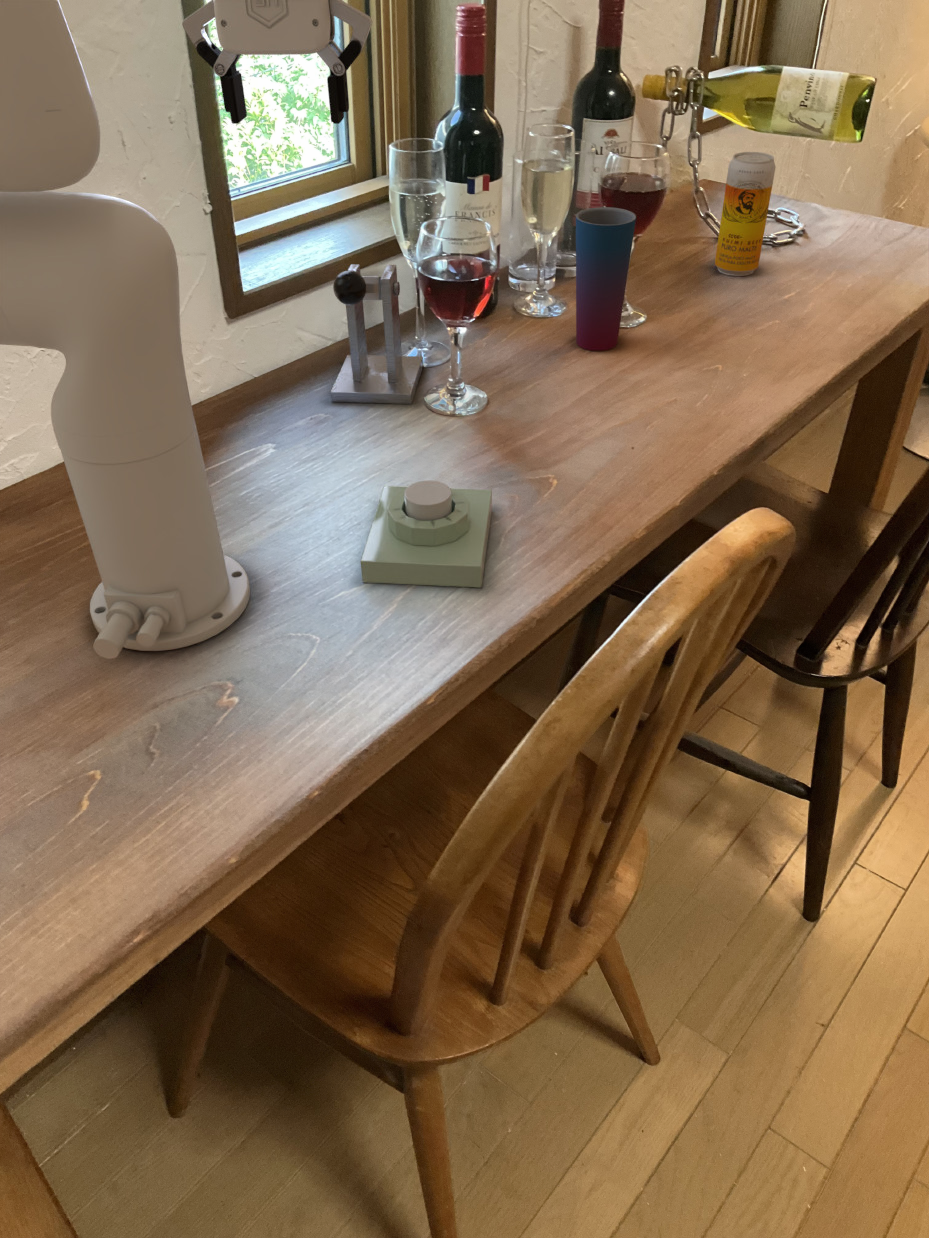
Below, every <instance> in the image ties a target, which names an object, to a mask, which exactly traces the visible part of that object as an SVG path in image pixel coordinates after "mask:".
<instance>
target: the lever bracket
mask: <svg viewBox="0 0 929 1238" xmlns="http://www.w3.org/2000/svg"><path fill="white" fill-rule="evenodd" d="M347 270H352V271H355V272H357V273H359V274H360V275H361V265H360V264H359V263H358V264H357V263H356V264H354V263H351V264H350V266H349V267H348V269H347ZM397 271H398V269H397V264H387V265H386V266H385V268H384V270H383V273H382V275H381V276H380V277H381V291H382V300H381V303H382V317H383V330H384V331H383V332H384V333H383V334H384V347H385V355H378V354H376V355H374V354H372V355H371V354H370V355H369V354H368V346H367V333H366V324H365V323H366V322H365V311H364V300H362V301H361V302H359V303H358V304H355V305H346V304H345V311H346V324H347V331H348V332H347V333H348V345H349V354H347V355H346V357H345V359H344V362H343V364H342V366H341V368H340V370H339V373H338V375H337V377H336V379H335V381H334V383H333V385H332V388H331V389H330V400H331V402H332V403H363V404H364V403H365V404H366V403H367V404H395V405H396V404H398V405H399V404H400V405H412V404H413V400H414V397H415V394H416V390H417V387H418V383H419V380H420V377H421V373H422V371H423V368H424V357H423V356H416V355H415V356H414V355H413V356H412V355H403V353H402V352H403V351H402V336H401V320H400V318H401V317H400V306H399V305H400V304H399V296H400V293H401V284H400V282H399V281H398V272H397ZM361 276H362V275H361Z"/></svg>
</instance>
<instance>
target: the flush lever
mask: <svg viewBox="0 0 929 1238" xmlns="http://www.w3.org/2000/svg"><path fill="white" fill-rule="evenodd" d="M360 274H361V273H360ZM360 274H359V273H357V272H355V271H352V270H348V269H347V270H344V271H341V272H340V273H338V275H336V277H335V279H334V281H333V284H332V285H333V287H332V289H333V294H334V296H335V298H336V299H337V300H338V301H339V302H340V303H341V304H343V305H345V306H346V305H355V304H358V303H359V302H361V301H362V300H363V301H382V291H381V277H382V276H378V275H360Z"/></svg>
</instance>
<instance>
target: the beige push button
mask: <svg viewBox="0 0 929 1238" xmlns="http://www.w3.org/2000/svg"><path fill="white" fill-rule="evenodd" d="M406 487H407V489H406V490H405V493H404V495H405V511H406V514H407V515H408V516H409V517H411V518H413V519H416V520H421V521H434V520H438V519H442V518H445V517H447V516H448V515H450V513H451V511H452V492H451V489H450V488H451V487H450V486H449V485H448V484H446V483H444V482H443V481H438V480H419V481H416V482H414V483H412V484H410V485H408V486H406Z"/></svg>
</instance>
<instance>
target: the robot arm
mask: <svg viewBox="0 0 929 1238" xmlns="http://www.w3.org/2000/svg"><path fill="white" fill-rule="evenodd" d="M335 17H336V18H337V19H338V20H340V21H342V22H344V23H346V24H348V25H349V26H350V27H351V29H352V34H351V36H350V40H349V43H348V44H347V45H346V47H345V48H344V49H343V50H342V49H341V48H340V46H338V45H337V43H336V42H335V40H334V39H335V35H336V23H335V22H336V21H335ZM214 19H215V27H216V33H217V34H216V35H217V38H218V42H219V44H220V46H221V48H222V50H221V49H220V48H219V47H218V46H217V45H216V44H215V43H214V42H213V41H211V40H210V38H209V37H208V34H207V32H206V29H205V28H206V25H208V24H209V23H211V22H212V21H213V20H214ZM181 23H182V25H181V26H182V28H183V30H184V31H185V33H186V35H187V36H188V38H189V41H191V43H192V45H194V47H195V48H196V53H197V54H198V55H199V56H200V57H201V58H202V59H203V61H204V62H206V63H207V65H209V66H210V67H211V68H212V69H213V72H214V73H215V75H216V76H218V77H219V81H220V86H221V87H220V88H221V93H222V100H223V106H224V111H225V112H226V113H229V115H230V122H231V123H232V125H234V124H238V125H239V124H240V123H241V122H242V121H244V120H245V118H247V117H248V116H247V115H248V113H247V112H248V111H247V105H246V99H245V91H244V83H243V78H242V73H241V72H240V71H239V70H237V63H238V61H239V60H240V58H241V56H242V55H246V56H247V55H251V56H253V55H255V56H258V55H259V56H264V55H265V56H266V55H267V56H273V55H274V56H275V55H278V56H279V55H280V56H281V55H284V56H286V55H288V56H289V55H312V54H317V55H318V56H319V58H321V60H322V61H323V62H324V63H325V65H326V66H327V68H329V75H328V76H327V79H326V82H327V93H328V101H329V102H328V103H329V113H330V121H331V123H333V124H334V125H337V124H338V125H339V124H340V123H341V122H342V121H343V120H344V118H345V113H348V112H349V110H350V101H349V99H350V98H349V87H348V76H347V75H348V74H347V71H348V70H349V69H350V67H351V66H352V65H353V63H354V62H355V61H356V60H357V58H358V57H359V56H360V55H361V53H362V52H363V50H364V47H365V44H366V42H367V39H368V36H369V33H370V31H371V29H372V25H373V19H372V17H370V15H368V14H366V13H365V12H363V11H361V10H359V9H357V8H356V7H355V6H353V5H351V4H349V3H348V2H345V1H344V0H210V1H208V2H206V3H205V4H204V5H202V6H201V7H200V8H198V9H197V10H195V11H194V12H193V13H191V14H189V15H188V16H187V17H185V18H183V20H182V22H181ZM95 104H96V103H95V102H94V98H93V95H92V91H91V88H90V85H89V82H88V79H87V75H86V73H85V70H84V67H83V64H82V61H81V59H80V55H79V52H78V50H77V47H76V44H75V41H74V38H73V37H72V33H71V31H70V27H69V25H68V22H67V19H66V17H65V13H64V11H63V8H62V5H61V3H60V0H0V345H3V346H17V347H33V348H38V349H47V350H54V351H57V352H60V353H62V355H63V356H64V359H65V367H64V371H63V373H62V375H61V377H60V379H59V381H58V383H57V385H56V387H55V389H54V392H53V394H52V398H51V403H50V420H51V425H52V430H53V433H54V436H55V439H56V443H57V446H58V448H59V450H60V454H61V456H62V460H63V463H64V465H65V470H66V473H67V476H68V478H69V479H68V480H69V482H70V485H71V488H72V491H73V494H74V497H75V500H76V504H77V507H78V511H79V513H80V517H81V520H82V524H83V526H84V529H85V533H86V536H87V538H88V539H87V540H88V541H89V544H90V549H91V552H92V554H93V557H94V560H95V564H96V567H97V570H98V573H99V576H100V580H101V582H100V583H99V584H98V586H96V588H95V590H94V592H93V593H92V596H91V598H90V601H89V614H90V618H91V621H92V623H93V626H94V628H95V630H96V631H97V633H98V635H97V637H96V638H95V640H94V642H93V644H92V648H93V651H94V652H95V653H96V654H97V655H98V656H99V657H101V658H103V659H106V660H107V659H108V660H113V659H116V658H117V657H119V655H120V653H121V651H122V650H123V648H125V649H127V650H128V649H129V650H135V651H141V652H162V651H171V650H177V649H182V648H187V647H189V646H193V645H195V644H198V643H203V642H205V641H206V640H208V639H210V638H213V637H215V636H217V635H218V634H220V633H221V632H223V631H224V630H226V629H227V628H229V627H230V626H231V625H232V624H233V623H234V622H236V620H238V619H239V618H240V617H241V616H242V614H243V613H244V611H245V610H246V608H247V605H248V604H249V601H250V597H251V587H250V580H249V577H248V574H247V571H246V569H244V567H243V566H242V565H241V564H240V563H239V562H238V561H236V560H235V559H234V558H233V557H230V556H228V555H226V554H225V553H224V551H223V546H222V541H221V537H220V532H219V527H218V523H217V518H216V513H215V507H214V503H213V499H212V495H211V490H210V489H211V488H210V486H209V480H208V476H207V471H206V465H205V461H204V457H203V452H202V447H201V442H200V437H199V432H198V429H197V424H196V419H195V415H194V410H193V405H192V400H191V396H190V391H189V385H188V380H187V375H186V368H185V361H184V355H183V344H182V343H183V342H182V334H181V333H182V331H181V307H180V304H181V303H180V302H181V301H180V299H181V298H180V275H179V272H180V271H179V264H178V259H177V253H176V249H175V245H174V243H173V241H172V238H171V236H170V234H169V232H168V230H166V228H165V227H164V225H163V224H162V223H161V221H159V219H158V218H157V217H156V216H155V215H154V214H152V213H151V212H149V211H148V210H147V209H145V208H143V207H142V206H140V205H138V204H136V203H134V202H131V201H129V200H126V199H123V198H120V197H116V196H112V195H108V194H101V193H92V192H83V191H82V192H80V191H79V192H78V191H55V190H59V189H60V190H61V189H63V188H67V187H71V186H72V185H75V184H77V183H79V182H80V181H81V180H83V179H85V178H86V177H87V176H88V175H90V173H91V172H92V170H93V168H94V167H95V165H96V163H97V162H98V159H99V156H100V151H101V129H100V127H101V126H100V121H99V116H98V111H97V107H96V105H95Z"/></svg>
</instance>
